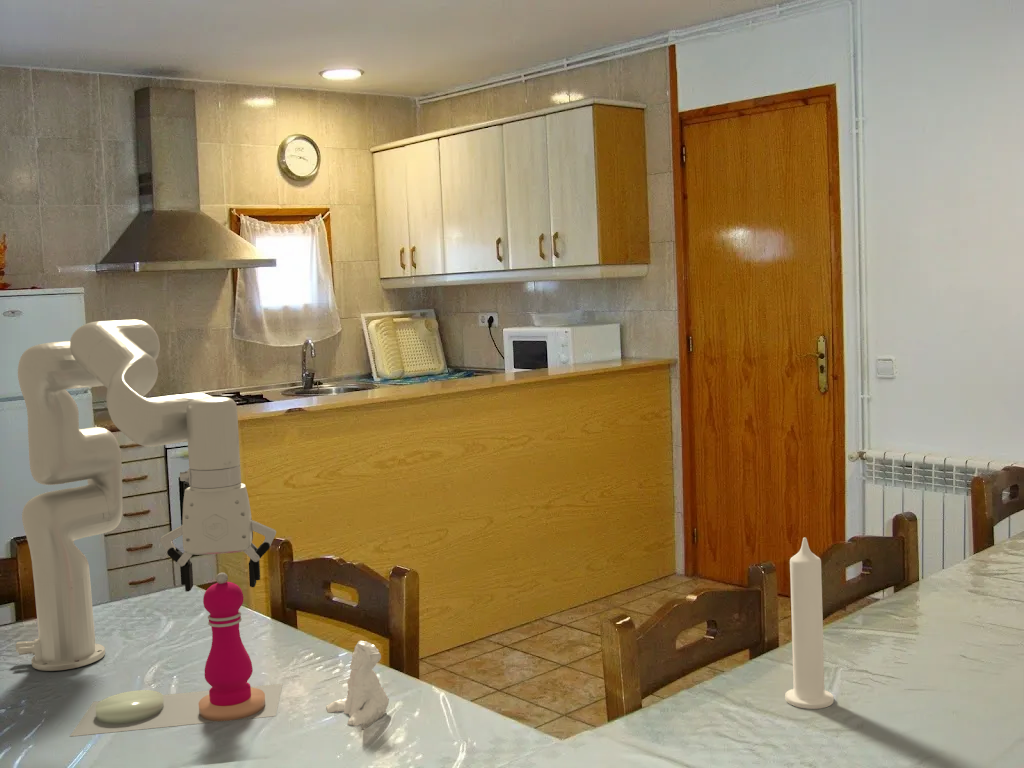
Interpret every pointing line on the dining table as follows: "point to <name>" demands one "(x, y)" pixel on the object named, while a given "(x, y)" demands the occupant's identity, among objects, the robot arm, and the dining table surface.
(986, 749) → the dining table surface
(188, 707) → the board
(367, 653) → the sitting furry creature
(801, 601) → the candle
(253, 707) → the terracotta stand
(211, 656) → the pepper mill
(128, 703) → the pale green domed disc
